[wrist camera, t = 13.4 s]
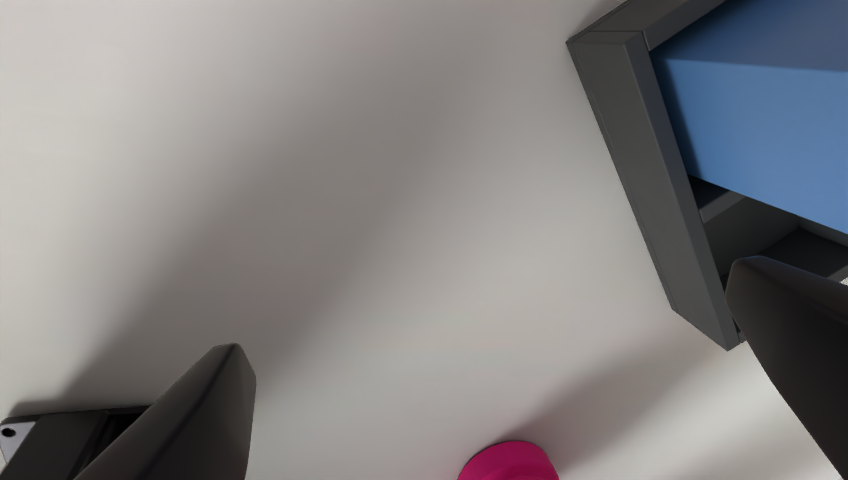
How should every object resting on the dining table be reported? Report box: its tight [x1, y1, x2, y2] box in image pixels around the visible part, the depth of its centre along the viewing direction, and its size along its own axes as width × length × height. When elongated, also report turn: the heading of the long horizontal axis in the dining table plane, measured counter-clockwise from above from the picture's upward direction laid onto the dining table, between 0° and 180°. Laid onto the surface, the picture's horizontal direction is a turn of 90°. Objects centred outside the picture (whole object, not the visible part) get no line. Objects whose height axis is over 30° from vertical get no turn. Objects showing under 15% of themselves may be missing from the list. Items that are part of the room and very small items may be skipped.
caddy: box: [566, 0, 848, 351], centre depth 21 cm, size 9×17×4 cm, turn 31°
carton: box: [648, 0, 848, 234], centre depth 15 cm, size 6×6×13 cm
